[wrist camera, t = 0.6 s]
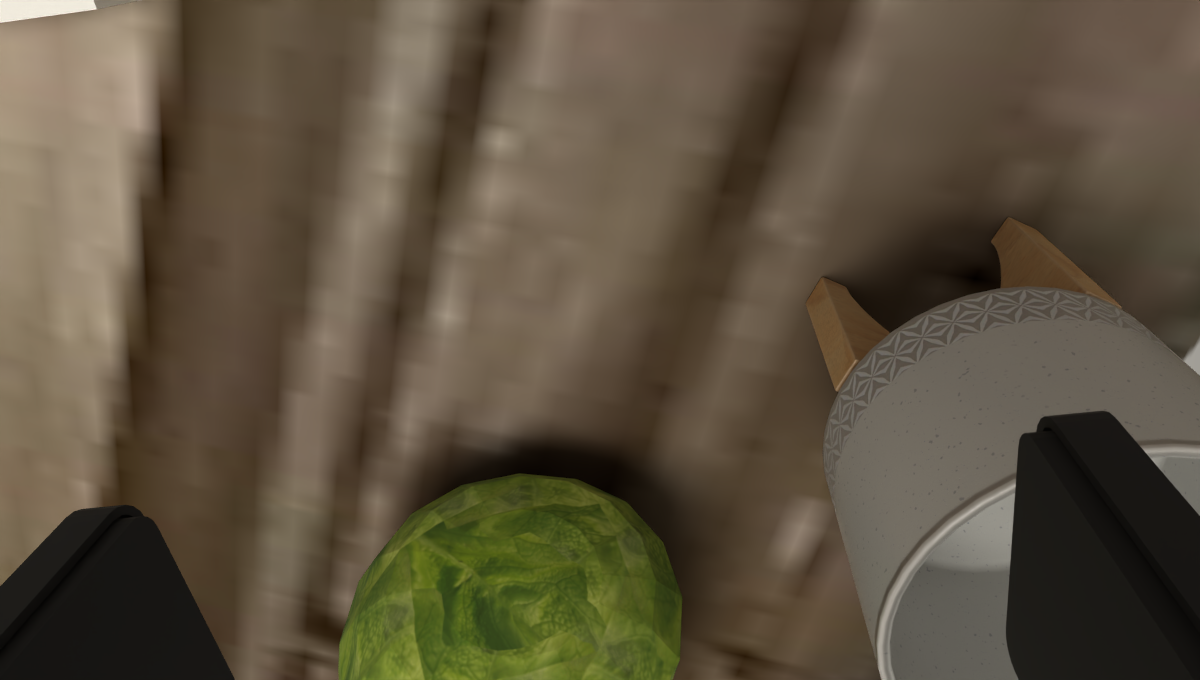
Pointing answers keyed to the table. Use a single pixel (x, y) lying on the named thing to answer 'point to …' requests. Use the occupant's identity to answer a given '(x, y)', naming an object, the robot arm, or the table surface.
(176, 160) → the table surface
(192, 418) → the table surface
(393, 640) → the green rounded lump
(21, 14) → the base block
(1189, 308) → the table surface
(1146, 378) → the planter
